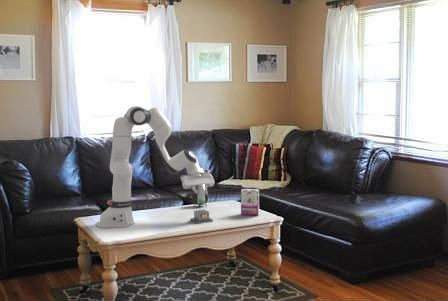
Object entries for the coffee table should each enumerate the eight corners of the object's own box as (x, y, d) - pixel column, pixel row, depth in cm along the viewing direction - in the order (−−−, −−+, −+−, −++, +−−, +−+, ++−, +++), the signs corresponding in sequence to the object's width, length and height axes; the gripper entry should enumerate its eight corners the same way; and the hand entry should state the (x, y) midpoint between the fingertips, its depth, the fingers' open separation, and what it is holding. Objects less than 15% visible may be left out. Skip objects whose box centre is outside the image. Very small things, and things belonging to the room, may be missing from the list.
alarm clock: (208, 205, 380) (208, 182, 378) (207, 207, 375) (207, 183, 373) (193, 205, 381) (192, 182, 379) (191, 207, 376) (191, 183, 374)
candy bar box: (259, 214, 354) (259, 189, 352) (258, 216, 349) (258, 190, 347) (242, 213, 356) (242, 188, 354) (240, 215, 352) (240, 189, 350)
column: (199, 205, 333) (199, 185, 332) (196, 203, 337) (196, 184, 336) (206, 204, 335) (206, 185, 334) (203, 203, 339) (203, 183, 338)
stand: (196, 223, 331) (196, 213, 330) (190, 220, 339) (190, 210, 339) (212, 221, 336) (212, 211, 335) (206, 218, 344) (206, 208, 343)
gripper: (180, 172, 336) (186, 190, 328) (211, 169, 344) (218, 187, 337) (178, 178, 340) (184, 197, 333) (208, 176, 349) (215, 193, 341)
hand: (201, 192), depth 335 cm, fingers closed on column, 4 cm apart
